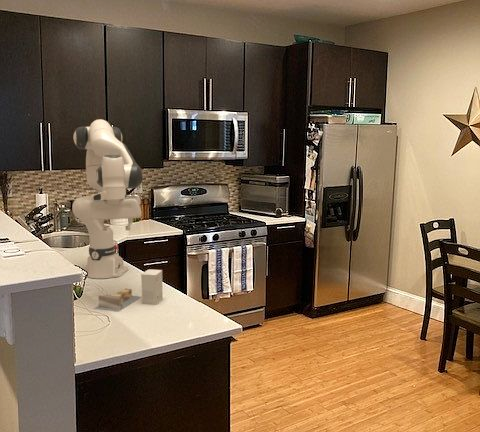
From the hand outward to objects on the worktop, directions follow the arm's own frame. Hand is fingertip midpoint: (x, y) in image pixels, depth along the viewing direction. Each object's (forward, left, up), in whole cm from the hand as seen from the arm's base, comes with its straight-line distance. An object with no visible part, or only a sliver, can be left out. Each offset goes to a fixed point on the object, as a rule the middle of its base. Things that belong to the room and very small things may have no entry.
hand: (116, 230), depth 206 cm
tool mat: (-1, 0, -31) cm, 31 cm away
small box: (-7, +12, -31) cm, 34 cm away
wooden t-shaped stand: (-1, 0, -30) cm, 30 cm away
